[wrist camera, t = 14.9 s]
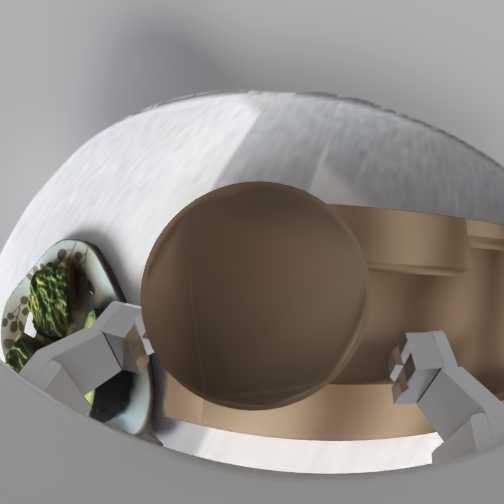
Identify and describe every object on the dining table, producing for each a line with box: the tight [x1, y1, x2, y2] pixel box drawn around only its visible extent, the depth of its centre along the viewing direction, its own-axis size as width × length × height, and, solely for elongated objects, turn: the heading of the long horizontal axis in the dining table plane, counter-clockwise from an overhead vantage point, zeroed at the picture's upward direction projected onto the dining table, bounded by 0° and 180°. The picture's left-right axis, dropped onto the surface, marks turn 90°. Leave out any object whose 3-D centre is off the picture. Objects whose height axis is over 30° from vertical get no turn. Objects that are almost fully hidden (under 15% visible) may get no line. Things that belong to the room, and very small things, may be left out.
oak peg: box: [141, 182, 371, 411], centre depth 10 cm, size 5×5×10 cm
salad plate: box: [1, 239, 163, 446], centre depth 15 cm, size 19×18×5 cm
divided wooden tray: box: [165, 199, 504, 441], centre depth 13 cm, size 27×12×3 cm, turn 84°
